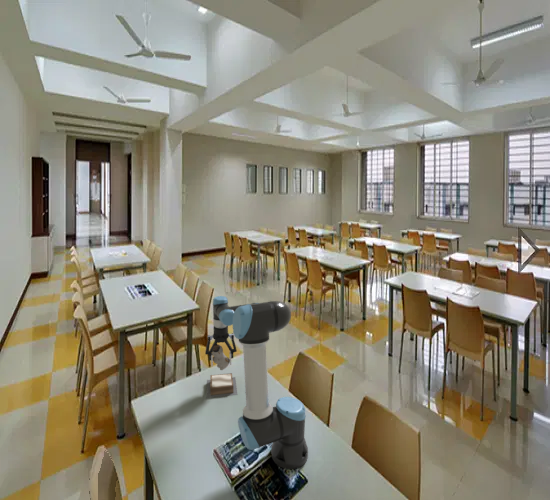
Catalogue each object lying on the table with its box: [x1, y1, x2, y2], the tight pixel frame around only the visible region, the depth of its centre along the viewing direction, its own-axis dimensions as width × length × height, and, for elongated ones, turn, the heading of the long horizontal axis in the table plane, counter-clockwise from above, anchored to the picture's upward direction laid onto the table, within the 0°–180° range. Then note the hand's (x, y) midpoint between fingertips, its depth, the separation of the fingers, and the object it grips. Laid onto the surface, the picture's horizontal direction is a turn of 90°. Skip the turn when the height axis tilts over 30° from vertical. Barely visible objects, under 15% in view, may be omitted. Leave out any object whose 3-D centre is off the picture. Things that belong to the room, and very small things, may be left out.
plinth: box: [209, 373, 234, 395], centre depth 169 cm, size 12×12×4 cm
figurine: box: [211, 343, 230, 371], centre depth 166 cm, size 9×10×15 cm
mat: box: [206, 376, 238, 399], centre depth 170 cm, size 16×16×1 cm
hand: (221, 364), depth 167 cm, fingers closed on figurine, 9 cm apart
